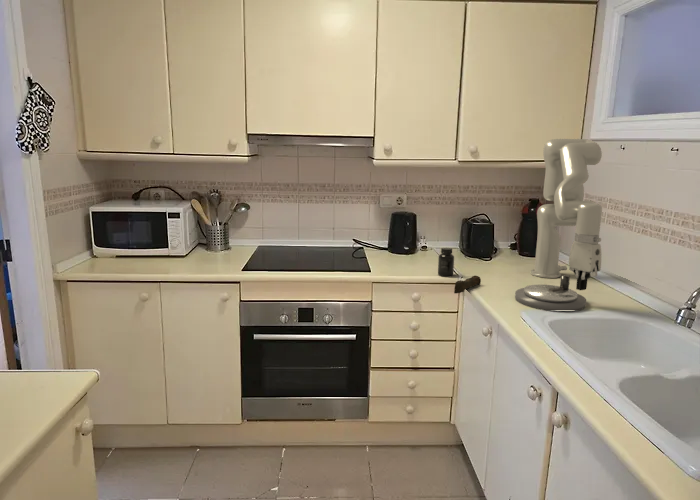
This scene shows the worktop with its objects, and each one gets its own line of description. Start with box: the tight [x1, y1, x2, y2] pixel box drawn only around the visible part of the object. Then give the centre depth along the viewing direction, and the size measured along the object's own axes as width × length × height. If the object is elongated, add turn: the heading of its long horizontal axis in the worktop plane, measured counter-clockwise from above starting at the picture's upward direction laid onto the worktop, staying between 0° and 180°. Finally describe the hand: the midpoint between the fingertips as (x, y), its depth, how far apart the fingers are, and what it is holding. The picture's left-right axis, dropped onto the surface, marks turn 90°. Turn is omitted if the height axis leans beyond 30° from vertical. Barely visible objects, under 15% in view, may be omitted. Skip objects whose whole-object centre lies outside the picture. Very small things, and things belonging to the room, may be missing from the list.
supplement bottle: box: [437, 247, 455, 278], centre depth 210 cm, size 7×7×12 cm
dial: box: [523, 274, 579, 303], centre depth 173 cm, size 18×18×6 cm
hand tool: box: [453, 275, 482, 294], centre depth 189 cm, size 19×4×5 cm, turn 138°
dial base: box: [514, 287, 587, 311], centre depth 174 cm, size 24×24×2 cm
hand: (581, 289), depth 170 cm, fingers closed
